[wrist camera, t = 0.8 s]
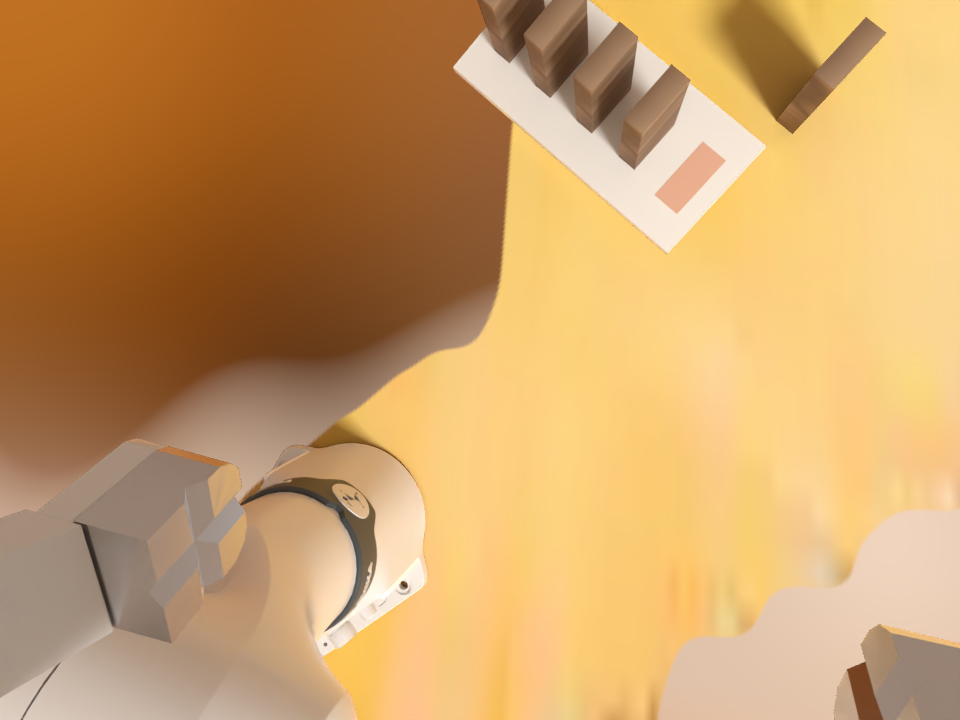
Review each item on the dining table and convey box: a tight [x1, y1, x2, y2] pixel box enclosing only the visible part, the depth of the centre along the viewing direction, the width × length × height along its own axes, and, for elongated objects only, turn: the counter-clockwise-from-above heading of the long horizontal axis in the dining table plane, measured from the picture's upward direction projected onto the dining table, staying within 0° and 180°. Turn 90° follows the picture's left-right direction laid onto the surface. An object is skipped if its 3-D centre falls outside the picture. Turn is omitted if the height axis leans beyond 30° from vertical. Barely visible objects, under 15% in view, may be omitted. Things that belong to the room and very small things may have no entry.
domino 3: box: [573, 22, 638, 133], centre depth 53 cm, size 2×5×10 cm, turn 137°
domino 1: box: [478, 0, 545, 63], centre depth 54 cm, size 2×5×10 cm, turn 138°
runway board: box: [453, 0, 766, 255], centre depth 59 cm, size 12×26×1 cm, turn 48°
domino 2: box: [524, 0, 588, 98], centre depth 54 cm, size 2×5×10 cm, turn 138°
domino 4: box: [619, 64, 690, 170], centre depth 53 cm, size 2×5×10 cm, turn 137°
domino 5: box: [776, 18, 886, 134], centre depth 51 cm, size 2×5×10 cm, turn 138°
